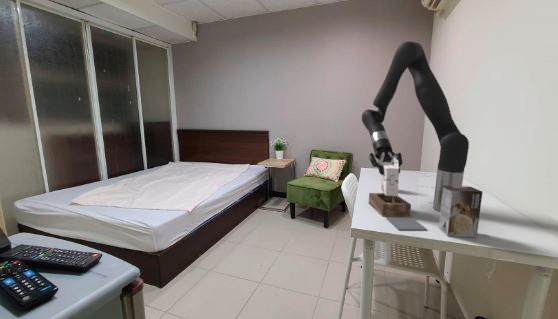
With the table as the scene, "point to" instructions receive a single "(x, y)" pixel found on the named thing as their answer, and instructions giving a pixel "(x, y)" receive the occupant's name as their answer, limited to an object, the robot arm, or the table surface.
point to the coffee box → (460, 211)
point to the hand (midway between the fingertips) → (390, 174)
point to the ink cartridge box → (390, 179)
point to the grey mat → (406, 224)
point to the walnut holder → (389, 205)
